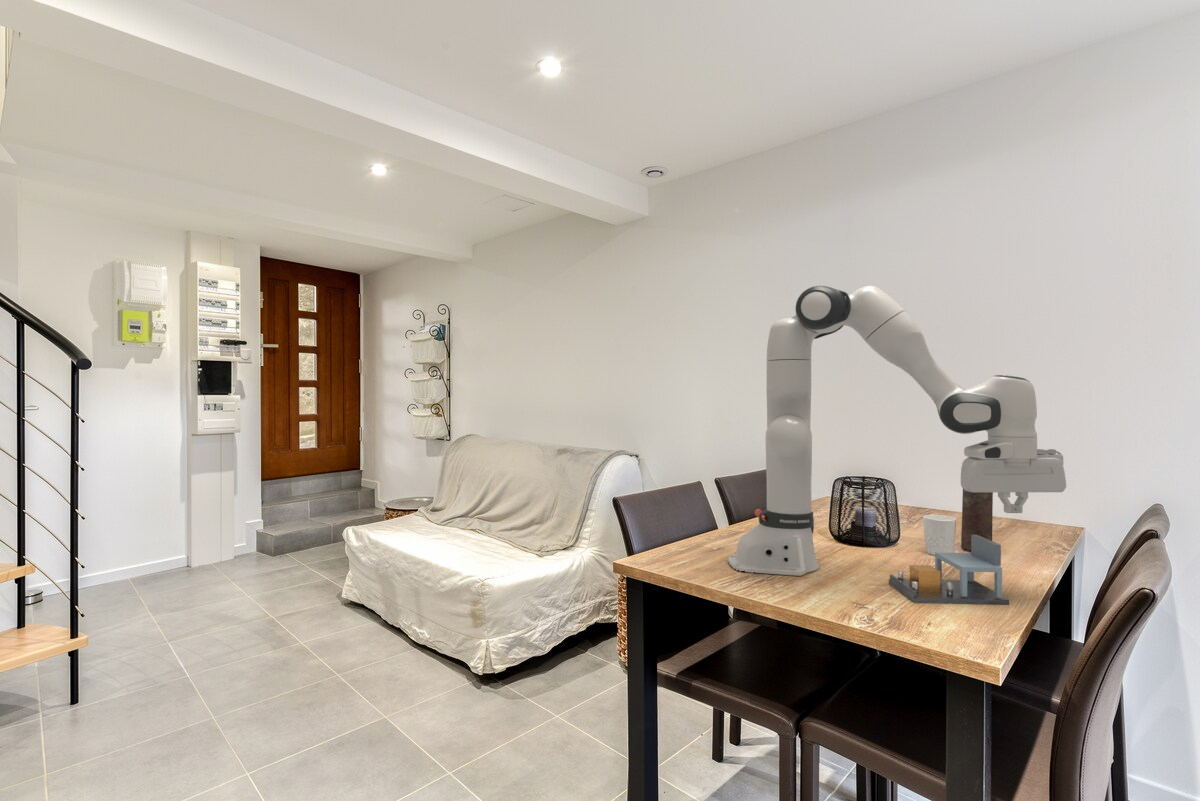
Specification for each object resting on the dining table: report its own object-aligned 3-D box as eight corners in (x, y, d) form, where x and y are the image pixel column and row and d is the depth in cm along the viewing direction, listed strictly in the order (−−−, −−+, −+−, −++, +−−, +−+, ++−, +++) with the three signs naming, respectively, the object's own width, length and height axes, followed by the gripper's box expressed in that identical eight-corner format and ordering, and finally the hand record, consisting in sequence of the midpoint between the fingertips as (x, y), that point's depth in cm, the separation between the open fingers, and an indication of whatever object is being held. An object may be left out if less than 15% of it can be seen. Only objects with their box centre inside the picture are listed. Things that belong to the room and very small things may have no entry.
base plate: (914, 602, 123) (914, 586, 123) (888, 583, 136) (888, 568, 136) (1009, 604, 121) (1009, 587, 121) (974, 584, 134) (974, 569, 134)
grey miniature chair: (962, 596, 123) (962, 545, 123) (935, 579, 134) (934, 532, 134) (1004, 597, 122) (1004, 546, 122) (973, 580, 134) (973, 533, 134)
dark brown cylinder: (992, 549, 165) (992, 478, 165) (993, 555, 159) (993, 482, 159) (961, 546, 170) (960, 477, 170) (960, 551, 163) (960, 480, 163)
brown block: (940, 591, 127) (940, 571, 127) (918, 591, 127) (918, 570, 127) (930, 585, 131) (930, 565, 131) (909, 584, 132) (909, 565, 131)
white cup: (961, 558, 157) (961, 521, 157) (929, 556, 158) (928, 520, 158) (949, 550, 164) (949, 515, 164) (919, 549, 166) (919, 514, 166)
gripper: (1052, 447, 130) (1053, 510, 130) (956, 448, 131) (957, 510, 131) (1073, 450, 123) (1074, 515, 123) (971, 451, 125) (972, 515, 125)
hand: (1013, 512), depth 127 cm, fingers closed
